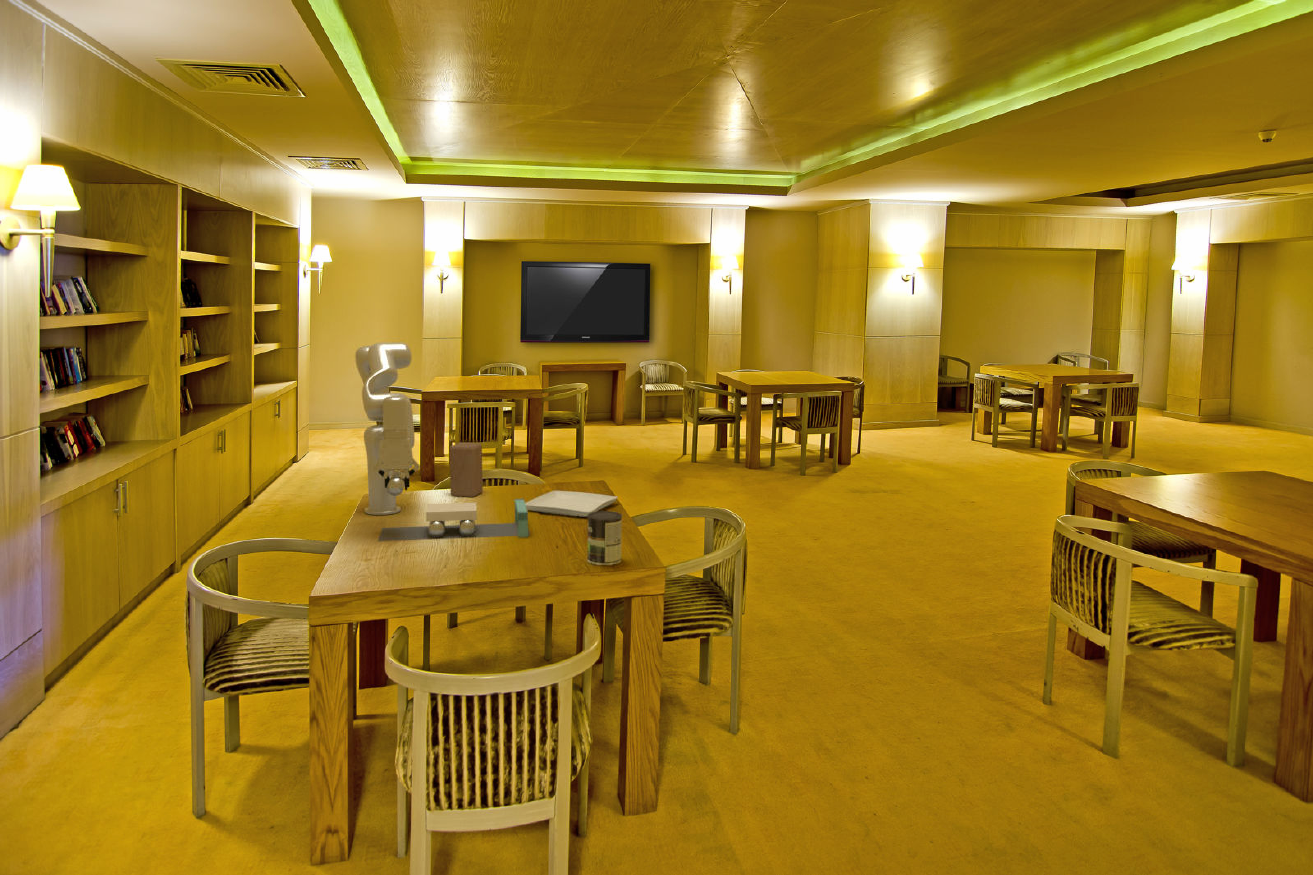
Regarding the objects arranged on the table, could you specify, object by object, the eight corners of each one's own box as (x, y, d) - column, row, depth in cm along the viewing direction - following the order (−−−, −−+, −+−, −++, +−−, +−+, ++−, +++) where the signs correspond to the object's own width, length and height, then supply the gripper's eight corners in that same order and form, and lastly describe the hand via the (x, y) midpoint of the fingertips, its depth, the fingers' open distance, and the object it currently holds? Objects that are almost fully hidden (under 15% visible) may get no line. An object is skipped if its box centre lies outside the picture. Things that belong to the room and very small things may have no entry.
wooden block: (473, 497, 360) (472, 447, 357) (449, 496, 362) (448, 446, 359) (483, 492, 369) (482, 443, 366) (460, 491, 371) (459, 442, 368)
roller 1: (429, 526, 313) (430, 511, 312) (444, 526, 314) (445, 512, 313) (428, 538, 297) (428, 523, 296) (444, 538, 298) (444, 523, 298)
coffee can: (587, 566, 271) (587, 519, 269) (587, 556, 282) (587, 511, 279) (622, 565, 272) (622, 519, 270) (620, 555, 282) (621, 510, 280)
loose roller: (391, 485, 308) (391, 470, 307) (406, 485, 309) (406, 470, 308) (387, 495, 292) (386, 480, 292) (403, 495, 293) (403, 480, 293)
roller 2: (459, 525, 315) (459, 511, 314) (474, 524, 316) (474, 510, 315) (459, 537, 299) (459, 522, 298) (475, 536, 300) (475, 521, 299)
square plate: (521, 513, 336) (521, 503, 336) (554, 498, 362) (554, 489, 361) (589, 521, 327) (589, 510, 326) (618, 505, 352) (619, 495, 352)
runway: (382, 527, 312) (382, 503, 311) (526, 522, 322) (525, 498, 320) (377, 544, 292) (376, 517, 290) (530, 538, 301) (530, 512, 300)
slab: (427, 512, 310) (427, 504, 309) (476, 511, 313) (476, 502, 313) (426, 521, 298) (426, 512, 298) (476, 519, 301) (476, 510, 301)
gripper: (366, 436, 293) (368, 492, 295) (422, 435, 296) (423, 491, 299) (369, 433, 300) (371, 488, 303) (423, 432, 303) (424, 486, 306)
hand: (397, 489), depth 301 cm, fingers closed on loose roller, 5 cm apart
